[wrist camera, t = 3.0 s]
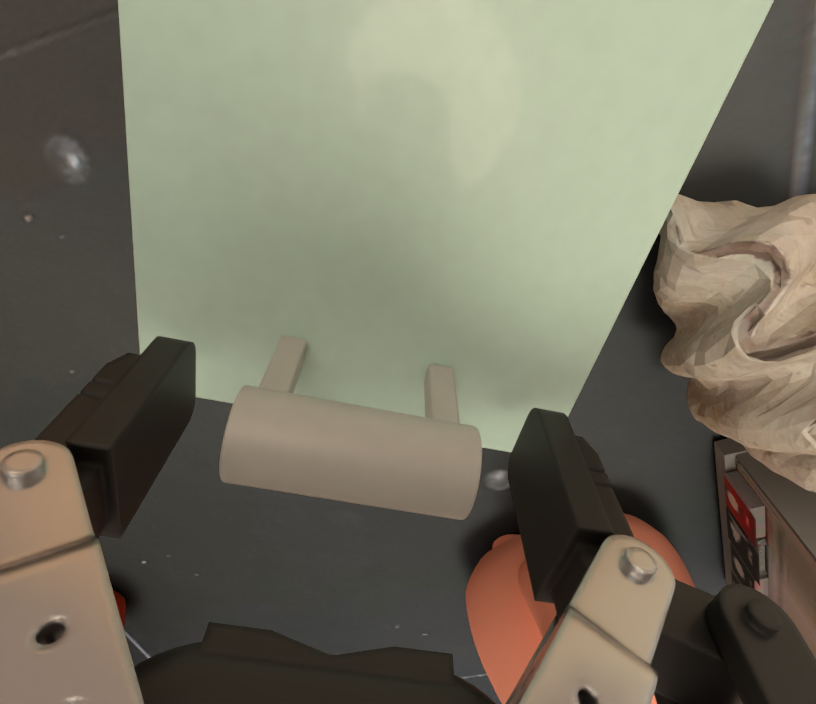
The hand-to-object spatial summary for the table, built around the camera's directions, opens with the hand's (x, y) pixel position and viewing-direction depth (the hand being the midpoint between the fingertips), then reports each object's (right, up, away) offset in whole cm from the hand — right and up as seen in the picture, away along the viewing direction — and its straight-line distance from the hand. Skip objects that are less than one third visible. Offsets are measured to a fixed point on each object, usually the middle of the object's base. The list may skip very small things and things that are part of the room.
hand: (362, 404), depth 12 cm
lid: (+1, +5, 0) cm, 5 cm away
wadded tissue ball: (+17, +4, +12) cm, 21 cm away
